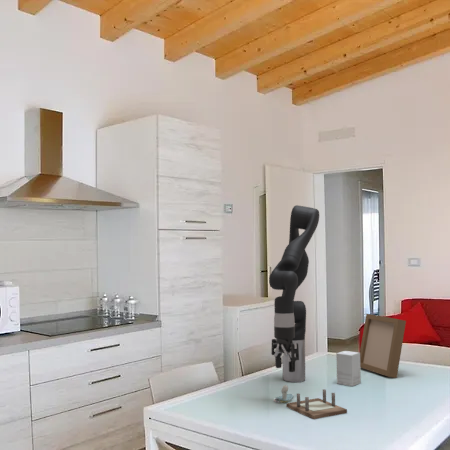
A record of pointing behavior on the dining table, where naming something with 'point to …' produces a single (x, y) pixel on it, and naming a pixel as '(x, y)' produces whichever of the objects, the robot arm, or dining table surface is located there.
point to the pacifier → (284, 395)
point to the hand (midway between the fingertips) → (285, 369)
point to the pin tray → (316, 407)
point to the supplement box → (348, 368)
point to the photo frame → (382, 344)
